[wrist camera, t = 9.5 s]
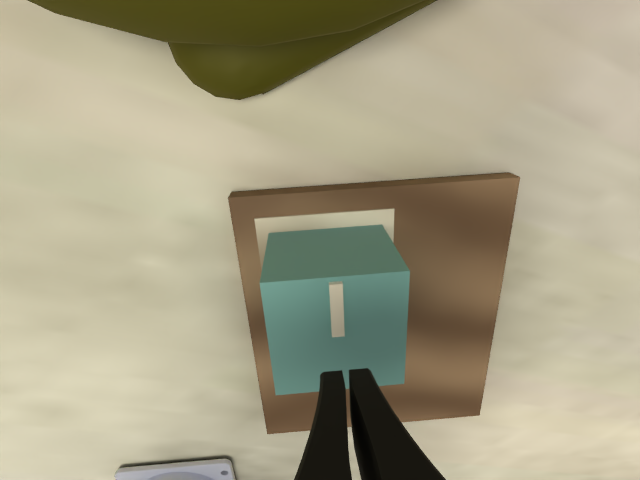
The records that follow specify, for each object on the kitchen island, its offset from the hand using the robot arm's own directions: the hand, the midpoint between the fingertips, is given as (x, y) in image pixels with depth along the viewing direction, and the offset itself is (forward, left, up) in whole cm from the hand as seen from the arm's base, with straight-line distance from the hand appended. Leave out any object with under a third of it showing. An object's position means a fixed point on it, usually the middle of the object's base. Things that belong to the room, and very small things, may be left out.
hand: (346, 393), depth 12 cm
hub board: (-4, -2, -9) cm, 10 cm away
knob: (0, 0, -8) cm, 8 cm away
